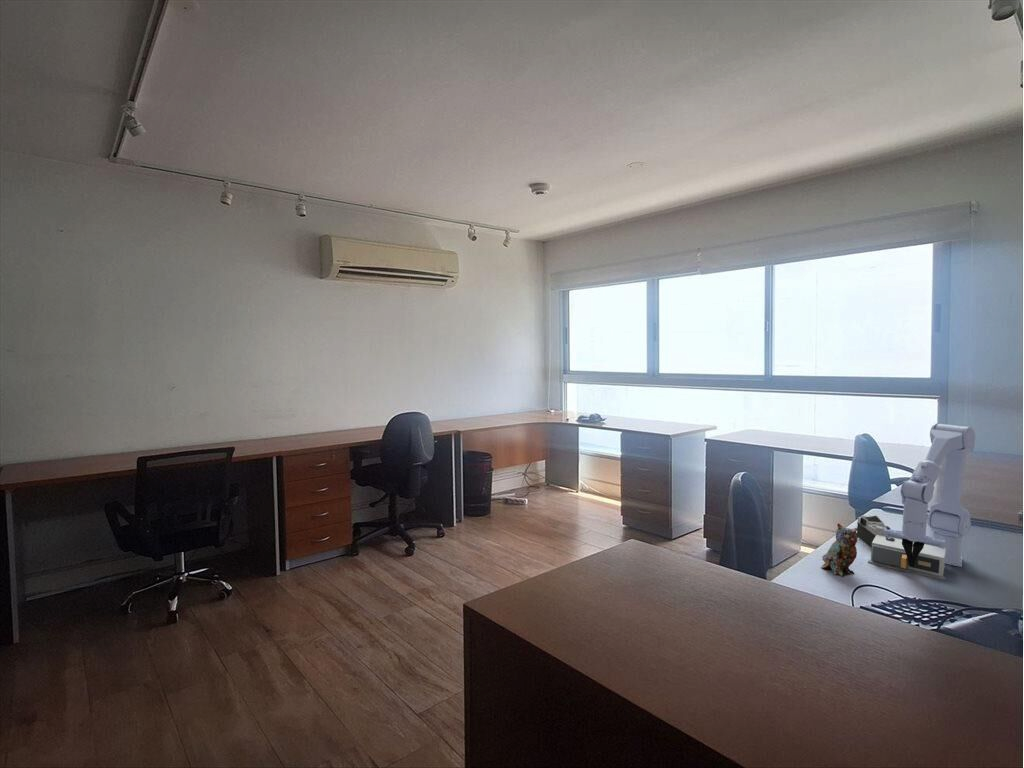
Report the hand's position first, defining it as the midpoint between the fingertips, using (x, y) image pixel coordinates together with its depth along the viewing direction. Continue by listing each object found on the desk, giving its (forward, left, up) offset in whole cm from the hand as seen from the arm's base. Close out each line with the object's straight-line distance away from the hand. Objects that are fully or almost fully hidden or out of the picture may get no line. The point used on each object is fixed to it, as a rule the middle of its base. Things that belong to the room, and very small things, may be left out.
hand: (911, 565), depth 162 cm
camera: (-22, -11, -3) cm, 25 cm away
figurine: (+12, -17, -3) cm, 21 cm away
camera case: (-8, -2, -3) cm, 9 cm away
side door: (-1, -6, -2) cm, 6 cm away
